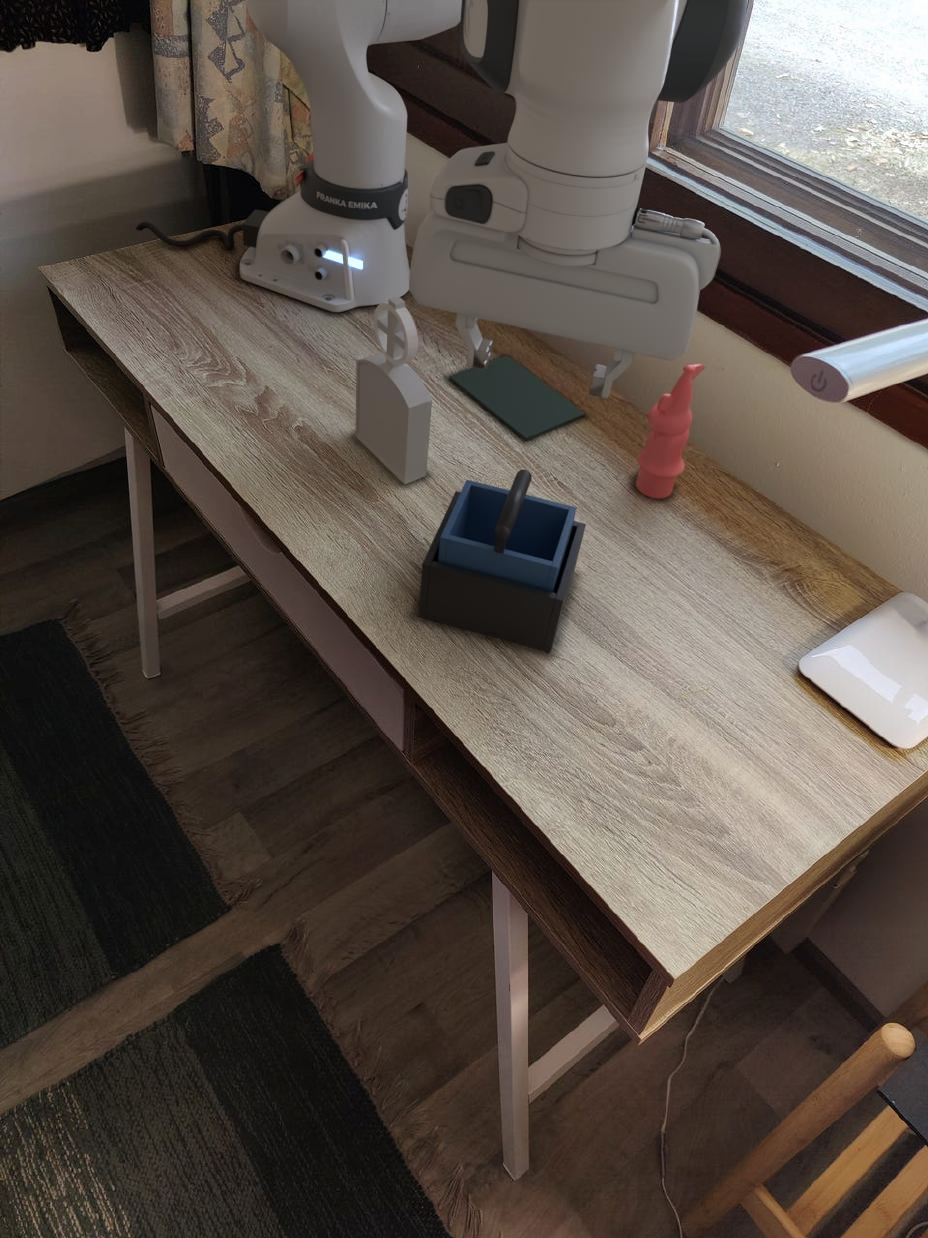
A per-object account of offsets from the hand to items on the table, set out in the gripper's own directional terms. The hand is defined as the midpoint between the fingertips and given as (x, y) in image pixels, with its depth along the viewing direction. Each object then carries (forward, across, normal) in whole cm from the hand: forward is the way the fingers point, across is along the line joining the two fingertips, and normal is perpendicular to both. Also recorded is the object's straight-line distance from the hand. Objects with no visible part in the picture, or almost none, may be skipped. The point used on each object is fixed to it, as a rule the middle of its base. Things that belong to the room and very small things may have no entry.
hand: (538, 378), depth 72 cm
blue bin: (+23, 0, 0) cm, 23 cm away
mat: (+23, +6, -32) cm, 40 cm away
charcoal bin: (+24, 0, 0) cm, 24 cm away
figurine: (+24, -12, -22) cm, 34 cm away
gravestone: (+24, +16, -16) cm, 33 cm away
